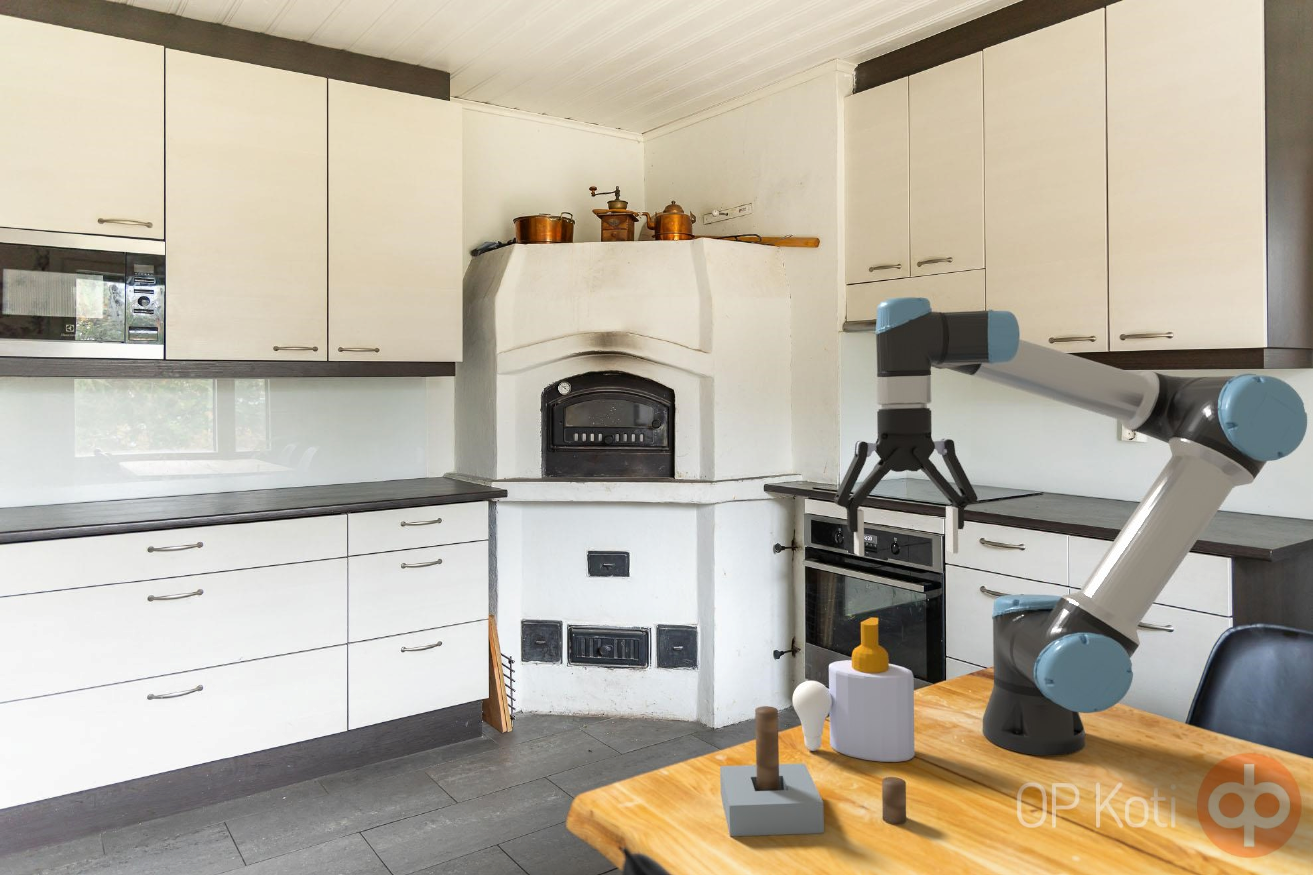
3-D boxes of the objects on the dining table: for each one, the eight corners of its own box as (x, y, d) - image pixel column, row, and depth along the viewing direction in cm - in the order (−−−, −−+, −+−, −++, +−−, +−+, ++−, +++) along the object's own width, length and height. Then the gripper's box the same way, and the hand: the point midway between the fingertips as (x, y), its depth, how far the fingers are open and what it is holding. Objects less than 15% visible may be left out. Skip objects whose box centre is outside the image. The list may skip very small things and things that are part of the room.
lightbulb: (832, 759, 134) (831, 688, 133) (792, 757, 135) (791, 687, 134) (832, 743, 140) (831, 676, 139) (794, 741, 141) (793, 674, 140)
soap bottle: (919, 748, 137) (918, 620, 136) (909, 768, 130) (907, 633, 129) (837, 735, 143) (835, 613, 142) (822, 753, 136) (820, 625, 135)
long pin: (777, 807, 119) (775, 705, 118) (781, 817, 116) (779, 713, 115) (755, 807, 118) (753, 706, 118) (758, 818, 115) (756, 714, 115)
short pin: (902, 813, 116) (901, 776, 116) (909, 824, 113) (908, 786, 113) (879, 813, 116) (879, 777, 116) (886, 824, 113) (885, 787, 113)
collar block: (805, 790, 123) (804, 763, 123) (823, 832, 111) (823, 802, 111) (720, 793, 123) (720, 765, 123) (730, 836, 111) (729, 805, 111)
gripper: (979, 404, 129) (980, 546, 130) (812, 408, 129) (814, 551, 130) (1000, 404, 122) (1001, 555, 123) (823, 409, 121) (825, 560, 122)
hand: (905, 553), depth 126 cm, fingers open, 13 cm apart
